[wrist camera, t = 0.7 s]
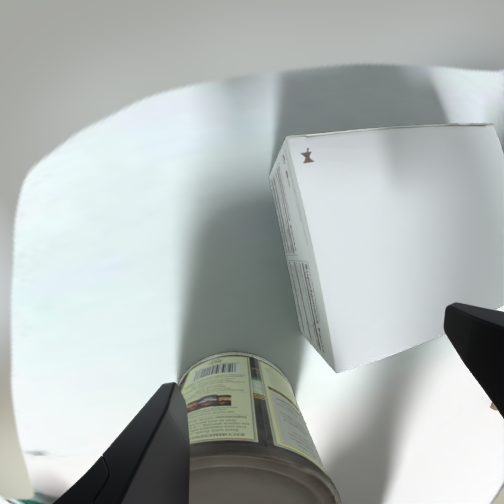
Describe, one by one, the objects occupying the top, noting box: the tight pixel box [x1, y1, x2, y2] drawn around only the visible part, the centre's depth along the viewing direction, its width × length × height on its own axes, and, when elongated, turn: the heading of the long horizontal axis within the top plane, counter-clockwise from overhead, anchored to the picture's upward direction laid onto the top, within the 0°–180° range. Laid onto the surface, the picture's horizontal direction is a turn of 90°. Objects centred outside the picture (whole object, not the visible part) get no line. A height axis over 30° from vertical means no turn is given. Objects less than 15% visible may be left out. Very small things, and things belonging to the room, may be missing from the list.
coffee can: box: [178, 352, 341, 504], centre depth 17 cm, size 10×10×14 cm
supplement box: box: [269, 123, 504, 373], centre depth 20 cm, size 17×13×9 cm
